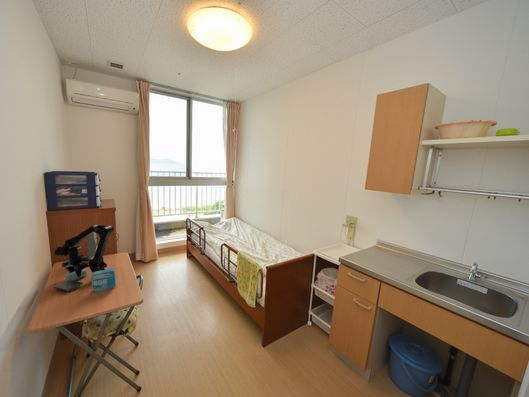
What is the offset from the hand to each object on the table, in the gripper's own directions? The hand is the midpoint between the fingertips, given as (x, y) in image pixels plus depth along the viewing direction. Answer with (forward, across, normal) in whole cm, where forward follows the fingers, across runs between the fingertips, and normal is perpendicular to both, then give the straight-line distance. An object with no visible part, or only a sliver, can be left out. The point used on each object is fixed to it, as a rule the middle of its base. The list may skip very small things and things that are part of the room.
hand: (76, 276), depth 154 cm
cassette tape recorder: (+2, +27, -30) cm, 40 cm away
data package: (+2, -32, +3) cm, 32 cm away
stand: (+2, -9, +10) cm, 14 cm away
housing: (+1, 0, 0) cm, 1 cm away
